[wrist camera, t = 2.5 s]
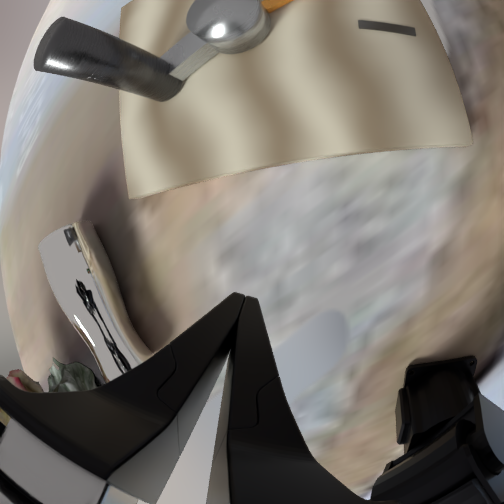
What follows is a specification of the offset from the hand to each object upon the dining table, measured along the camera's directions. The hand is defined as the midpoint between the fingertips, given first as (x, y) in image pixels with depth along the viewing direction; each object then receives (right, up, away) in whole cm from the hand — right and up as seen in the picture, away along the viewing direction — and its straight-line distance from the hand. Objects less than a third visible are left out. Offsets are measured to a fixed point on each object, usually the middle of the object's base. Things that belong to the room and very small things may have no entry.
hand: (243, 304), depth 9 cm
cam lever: (0, +18, +6) cm, 19 cm away
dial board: (+1, +18, +7) cm, 20 cm away
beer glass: (-12, -10, +15) cm, 22 cm away
